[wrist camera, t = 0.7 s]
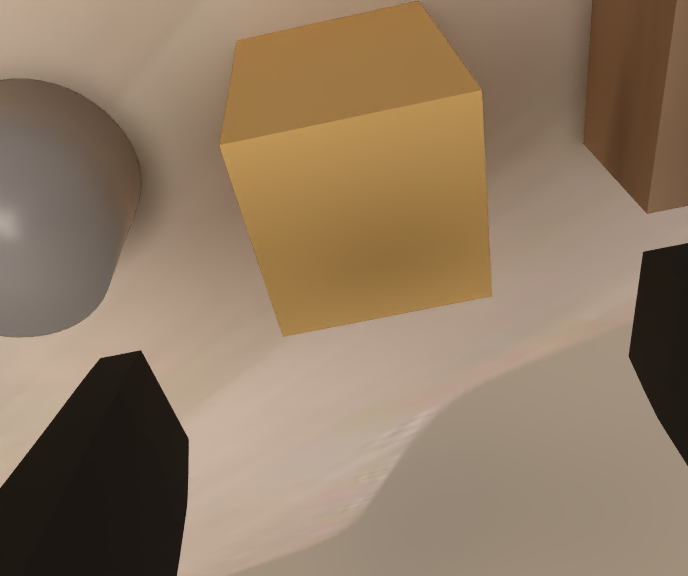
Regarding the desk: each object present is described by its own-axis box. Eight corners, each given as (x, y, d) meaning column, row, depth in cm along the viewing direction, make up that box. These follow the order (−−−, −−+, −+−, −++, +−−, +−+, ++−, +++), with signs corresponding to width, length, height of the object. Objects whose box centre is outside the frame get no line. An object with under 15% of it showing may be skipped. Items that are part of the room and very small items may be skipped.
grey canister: (97, 60, 15) (51, 126, 12) (167, 228, 18) (144, 316, 15) (-98, 99, 16) (-192, 174, 12) (3, 260, 19) (-53, 353, 16)
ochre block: (418, 0, 15) (482, 89, 10) (435, 165, 18) (491, 296, 13) (237, 39, 15) (219, 145, 11) (282, 197, 18) (283, 336, 13)
